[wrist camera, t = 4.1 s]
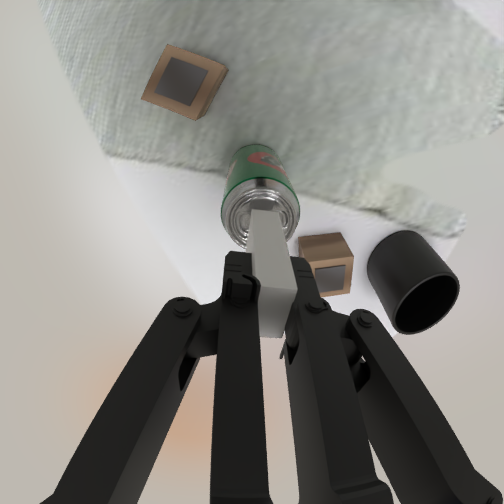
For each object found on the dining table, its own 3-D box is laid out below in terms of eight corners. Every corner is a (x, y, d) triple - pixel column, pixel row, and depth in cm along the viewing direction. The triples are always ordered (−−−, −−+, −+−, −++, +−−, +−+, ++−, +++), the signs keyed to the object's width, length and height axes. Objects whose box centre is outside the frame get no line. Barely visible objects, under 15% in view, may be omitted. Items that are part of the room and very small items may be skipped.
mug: (367, 307, 38) (387, 355, 30) (364, 240, 32) (395, 288, 24) (421, 289, 37) (447, 332, 29) (427, 222, 30) (466, 262, 23)
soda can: (224, 148, 26) (210, 190, 15) (276, 139, 25) (298, 176, 15) (235, 195, 28) (229, 262, 18) (283, 187, 28) (306, 250, 18)
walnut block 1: (181, 51, 20) (166, 43, 16) (228, 70, 21) (224, 65, 17) (158, 96, 22) (139, 99, 18) (204, 115, 24) (195, 120, 19)
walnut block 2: (298, 236, 31) (306, 263, 27) (340, 232, 31) (354, 257, 27) (299, 271, 34) (306, 300, 30) (338, 266, 34) (350, 294, 29)
